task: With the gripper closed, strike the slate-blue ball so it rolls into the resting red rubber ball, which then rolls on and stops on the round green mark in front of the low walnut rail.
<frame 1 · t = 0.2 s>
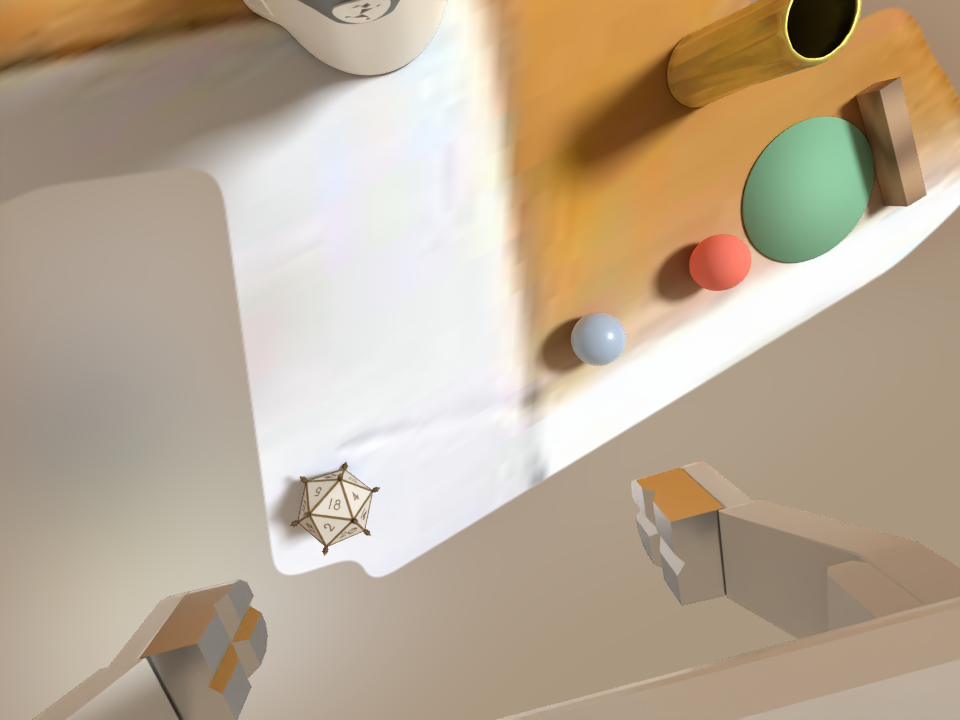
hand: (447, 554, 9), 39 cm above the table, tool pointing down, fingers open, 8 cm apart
blue ball: (598, 339, 47), on the table
game die: (342, 483, 53), on the table
red ball: (719, 262, 46), on the table
green mark: (807, 193, 47), on the table
vase: (696, 70, 42), on the table
walnut stop: (880, 147, 46), on the table
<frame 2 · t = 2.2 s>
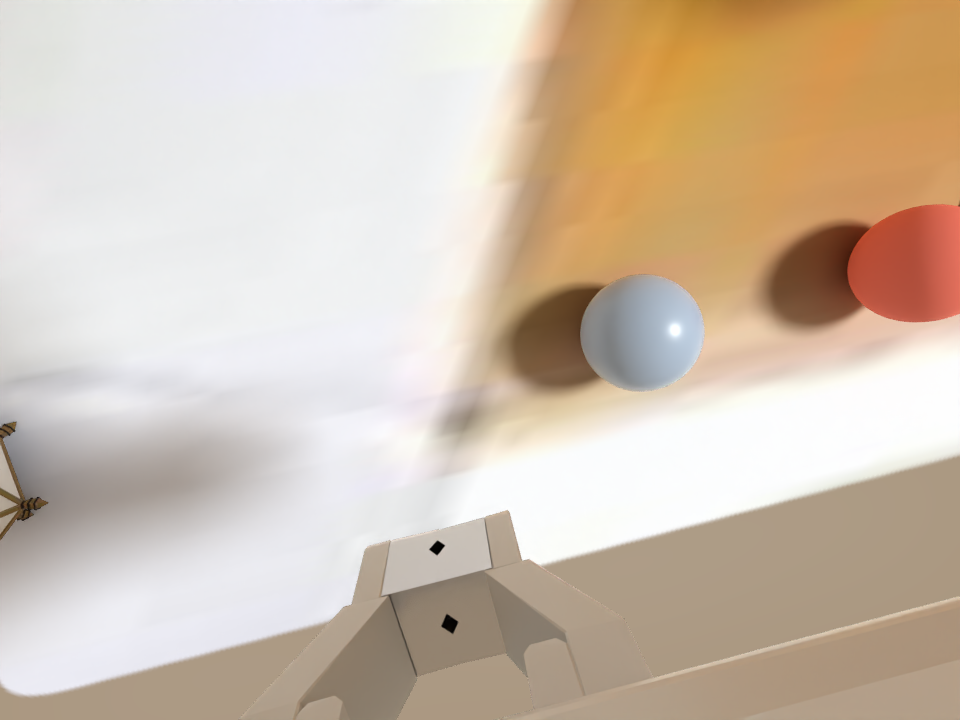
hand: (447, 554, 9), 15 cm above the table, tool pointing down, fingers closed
blue ball: (639, 333, 22), on the table
red ball: (920, 264, 22), on the table
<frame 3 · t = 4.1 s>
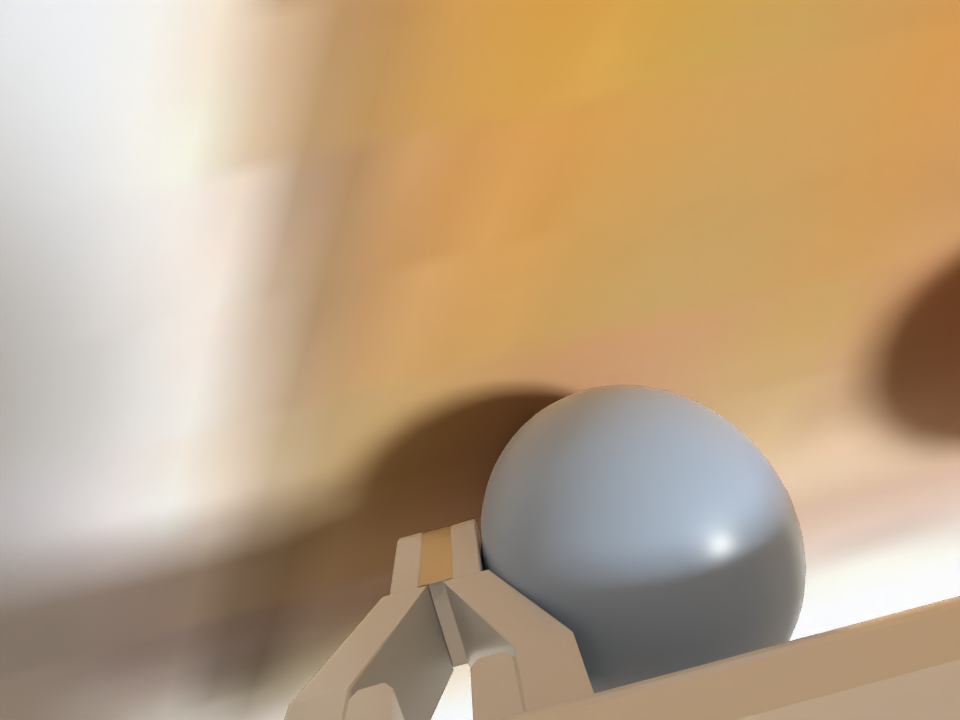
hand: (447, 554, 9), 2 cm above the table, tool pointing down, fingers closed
blue ball: (626, 531, 9), on the table, touching gripper
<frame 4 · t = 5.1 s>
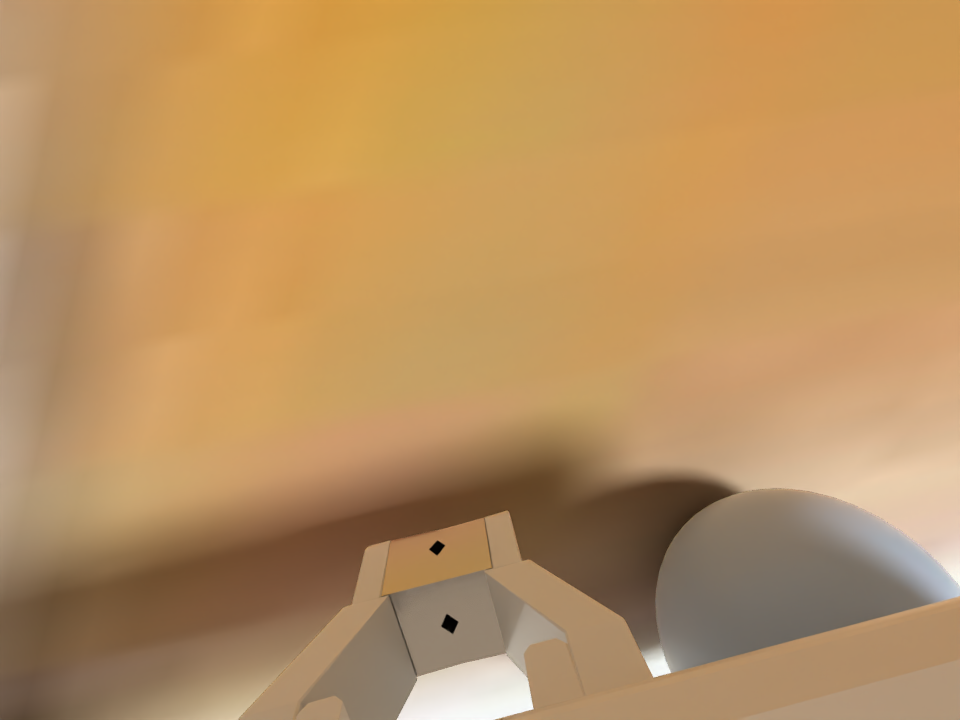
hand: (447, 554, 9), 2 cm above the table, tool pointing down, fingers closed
blue ball: (799, 628, 9), on the table
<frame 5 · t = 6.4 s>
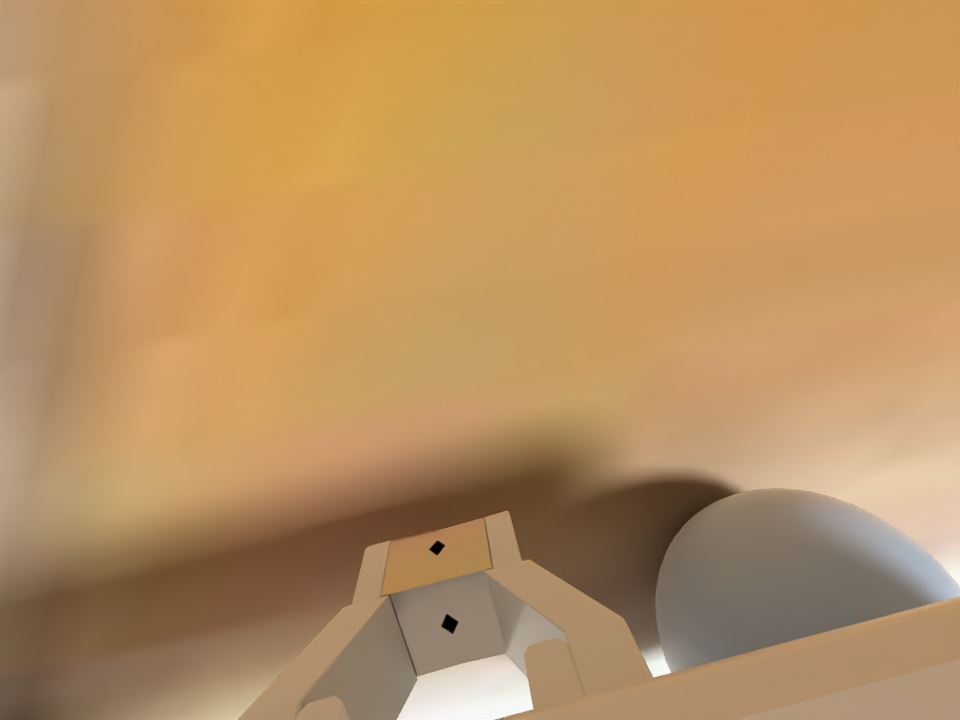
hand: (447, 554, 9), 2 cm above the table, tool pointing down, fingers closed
blue ball: (799, 628, 9), on the table
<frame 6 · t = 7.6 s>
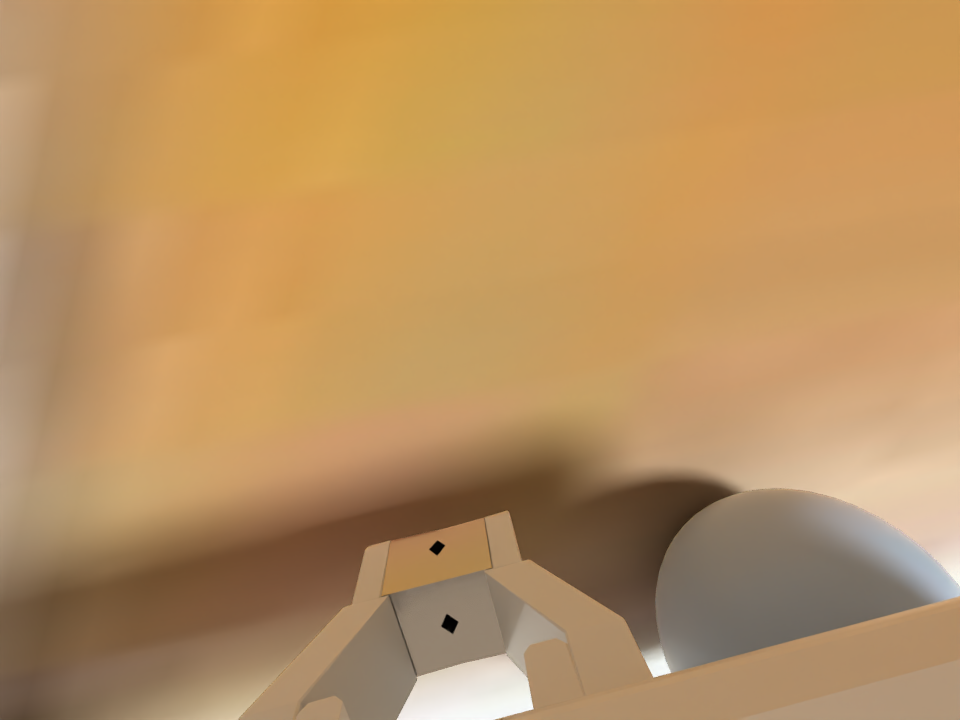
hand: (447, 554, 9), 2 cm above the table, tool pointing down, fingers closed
blue ball: (799, 628, 9), on the table
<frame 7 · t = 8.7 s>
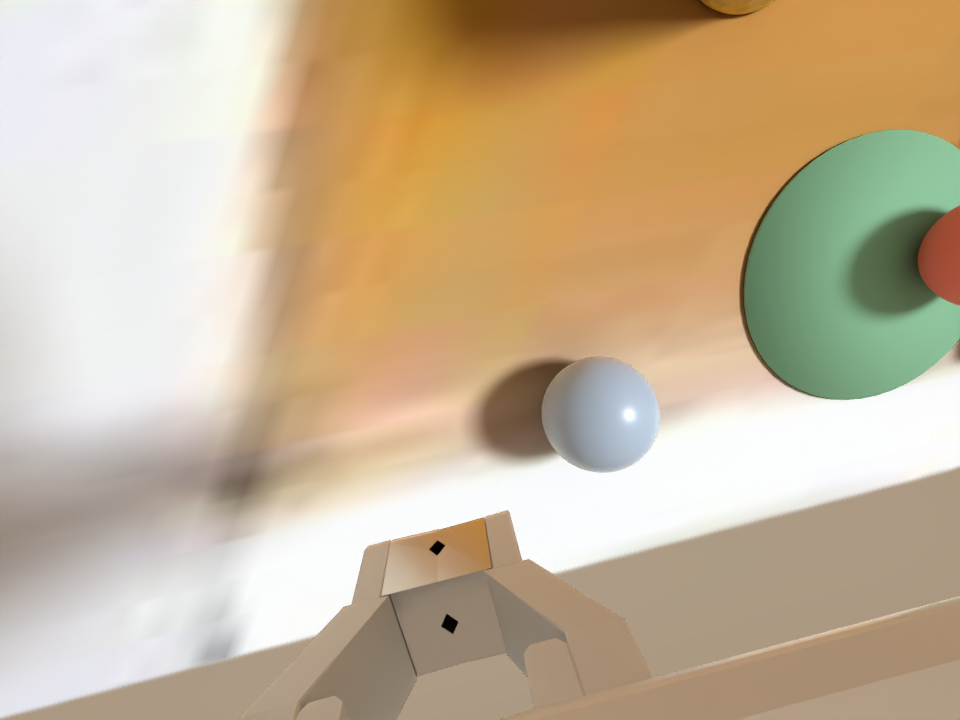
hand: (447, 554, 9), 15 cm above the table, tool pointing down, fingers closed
blue ball: (598, 413, 22), on the table
green mark: (869, 273, 24), on the table
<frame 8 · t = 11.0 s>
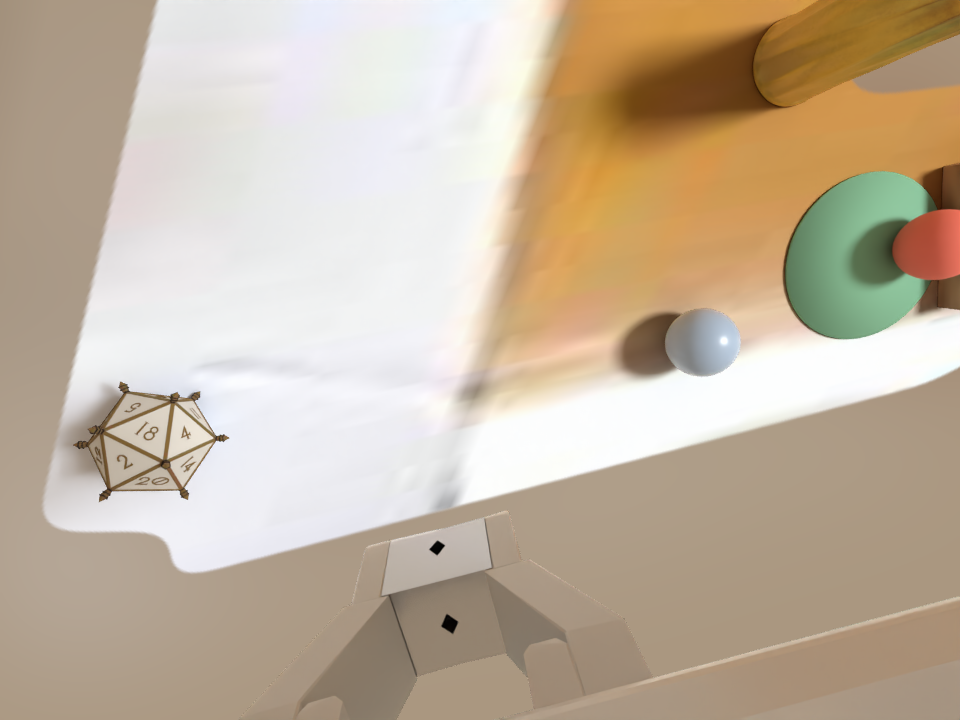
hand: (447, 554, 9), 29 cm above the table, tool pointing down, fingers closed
blue ball: (701, 342, 37), on the table
game die: (184, 420, 38), on the table
red ball: (938, 245, 37), on the table
green mark: (862, 258, 39), on the table
vase: (787, 63, 35), on the table
walnut stop: (951, 237, 40), on the table
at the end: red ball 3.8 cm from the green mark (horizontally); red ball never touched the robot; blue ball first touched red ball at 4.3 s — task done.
